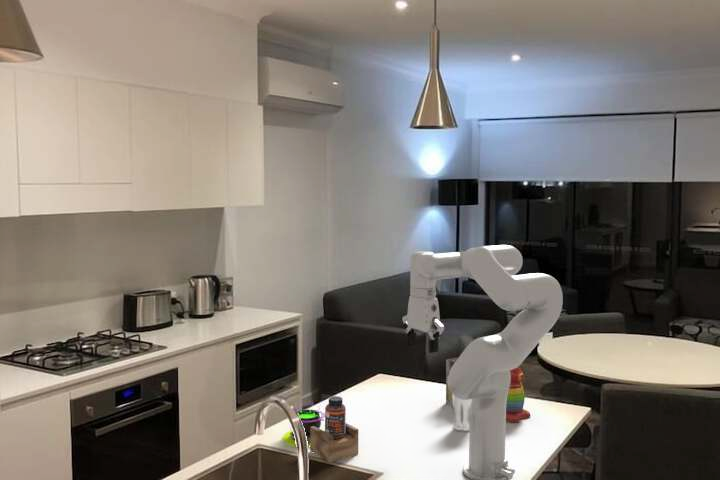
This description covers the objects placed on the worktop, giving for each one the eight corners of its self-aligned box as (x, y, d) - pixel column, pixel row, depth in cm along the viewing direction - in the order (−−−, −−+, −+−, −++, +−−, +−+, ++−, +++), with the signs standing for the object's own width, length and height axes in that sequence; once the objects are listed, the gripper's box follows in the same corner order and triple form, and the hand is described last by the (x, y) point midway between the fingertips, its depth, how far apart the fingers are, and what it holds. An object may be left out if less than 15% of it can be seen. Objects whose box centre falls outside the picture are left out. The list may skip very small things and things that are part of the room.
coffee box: (474, 408, 231) (475, 363, 230) (459, 410, 229) (459, 365, 227) (459, 400, 240) (460, 356, 238) (444, 402, 237) (445, 358, 235)
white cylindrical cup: (473, 433, 208) (474, 386, 207) (451, 431, 210) (451, 385, 208) (474, 425, 215) (474, 379, 214) (452, 423, 216) (453, 378, 215)
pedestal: (358, 454, 192) (358, 429, 191) (329, 462, 186) (329, 437, 185) (338, 443, 200) (338, 419, 199) (310, 451, 194) (310, 426, 193)
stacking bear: (513, 424, 216) (515, 370, 215) (488, 415, 224) (489, 364, 222) (532, 416, 223) (534, 364, 222) (507, 408, 231) (509, 358, 229)
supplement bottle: (327, 441, 189) (327, 402, 188) (323, 433, 194) (323, 395, 193) (347, 439, 190) (347, 400, 189) (343, 431, 196) (343, 394, 195)
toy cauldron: (340, 435, 206) (340, 401, 205) (311, 451, 194) (311, 415, 193) (303, 425, 215) (302, 392, 214) (272, 440, 202) (272, 405, 201)
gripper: (452, 295, 194) (451, 352, 196) (412, 287, 208) (412, 341, 209) (433, 298, 190) (433, 356, 191) (394, 290, 203) (394, 345, 205)
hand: (422, 348), depth 200 cm, fingers open, 9 cm apart
